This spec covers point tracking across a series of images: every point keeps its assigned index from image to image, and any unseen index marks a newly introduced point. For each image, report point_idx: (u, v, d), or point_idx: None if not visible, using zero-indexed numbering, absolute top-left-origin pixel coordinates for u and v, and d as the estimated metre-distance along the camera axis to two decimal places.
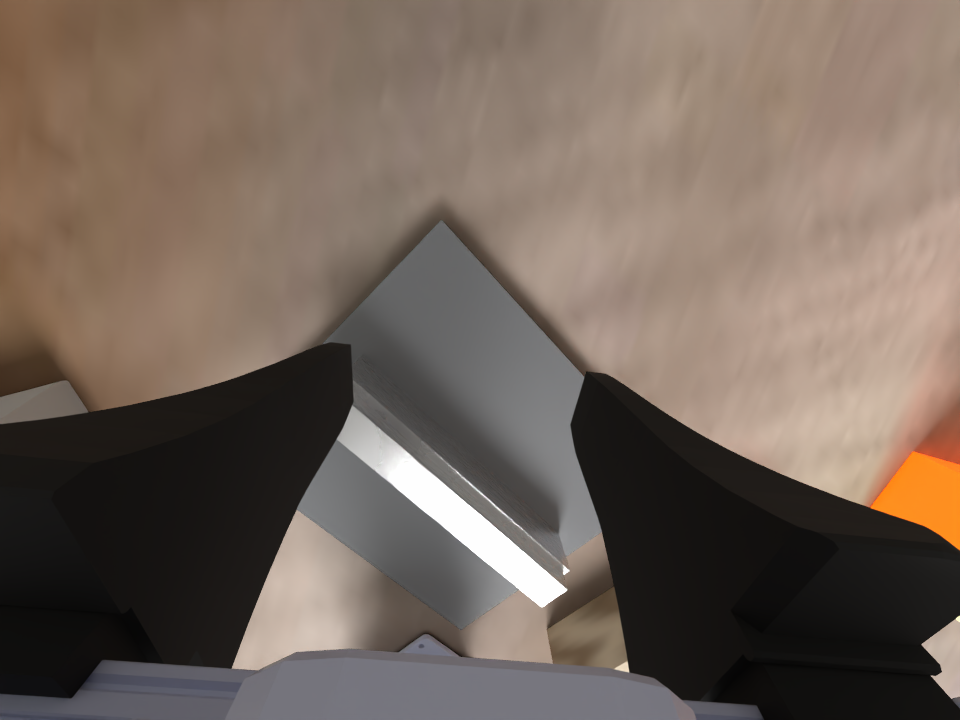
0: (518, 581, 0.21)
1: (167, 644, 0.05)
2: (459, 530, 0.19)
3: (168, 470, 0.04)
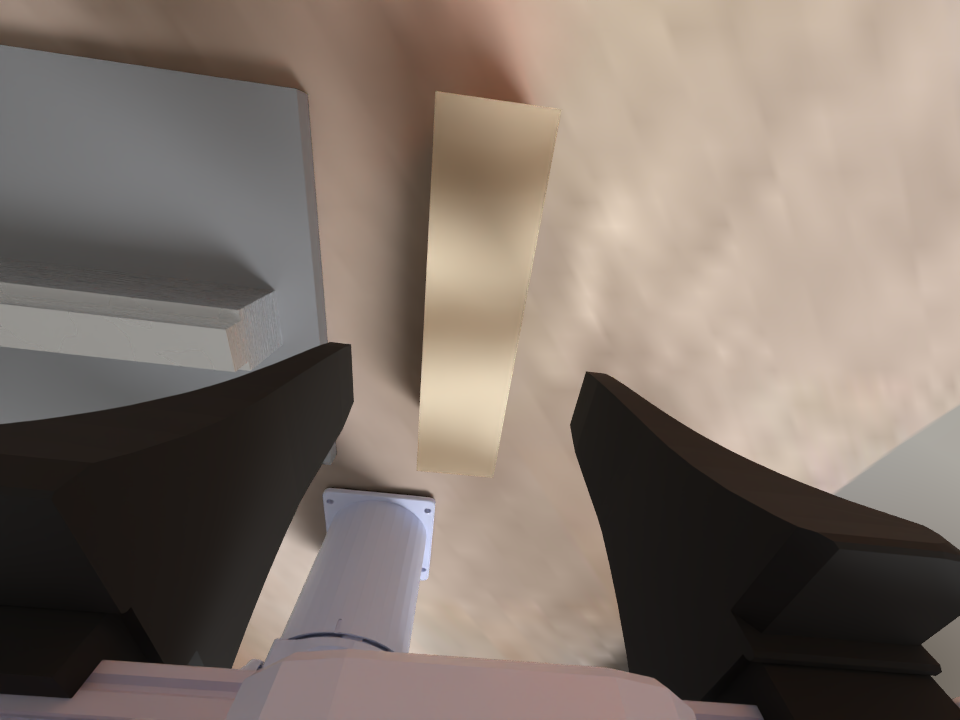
0: (172, 358, 0.15)
1: (167, 644, 0.05)
2: (46, 342, 0.15)
3: (167, 470, 0.04)
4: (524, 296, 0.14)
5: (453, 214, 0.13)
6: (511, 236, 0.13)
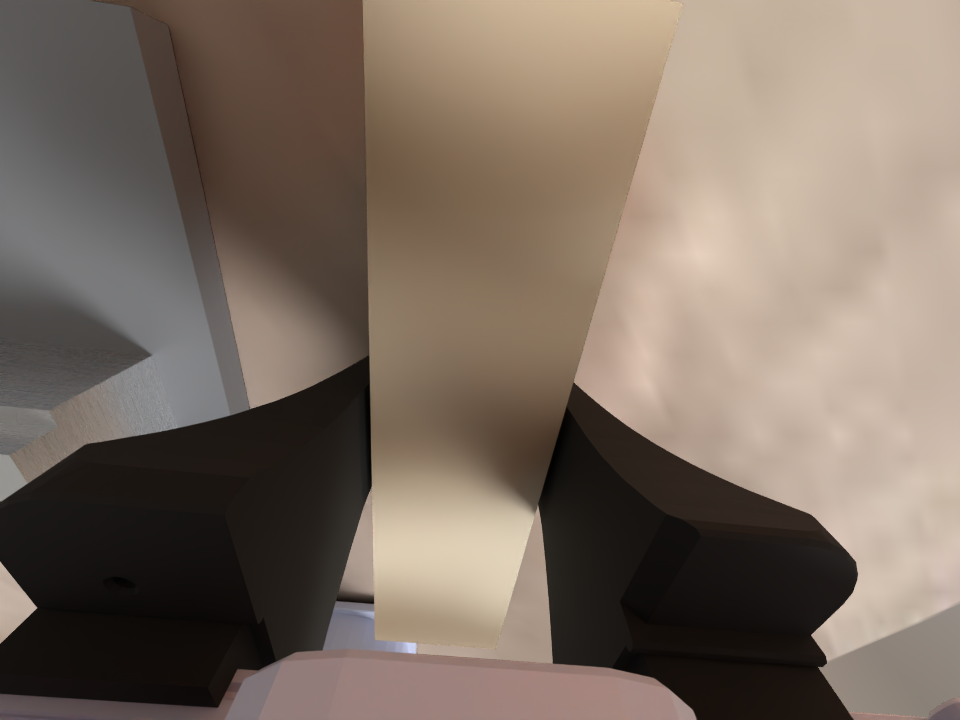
0: None
1: (281, 653, 0.05)
2: None
3: (290, 482, 0.04)
4: (562, 405, 0.07)
5: (419, 254, 0.06)
6: (543, 299, 0.06)
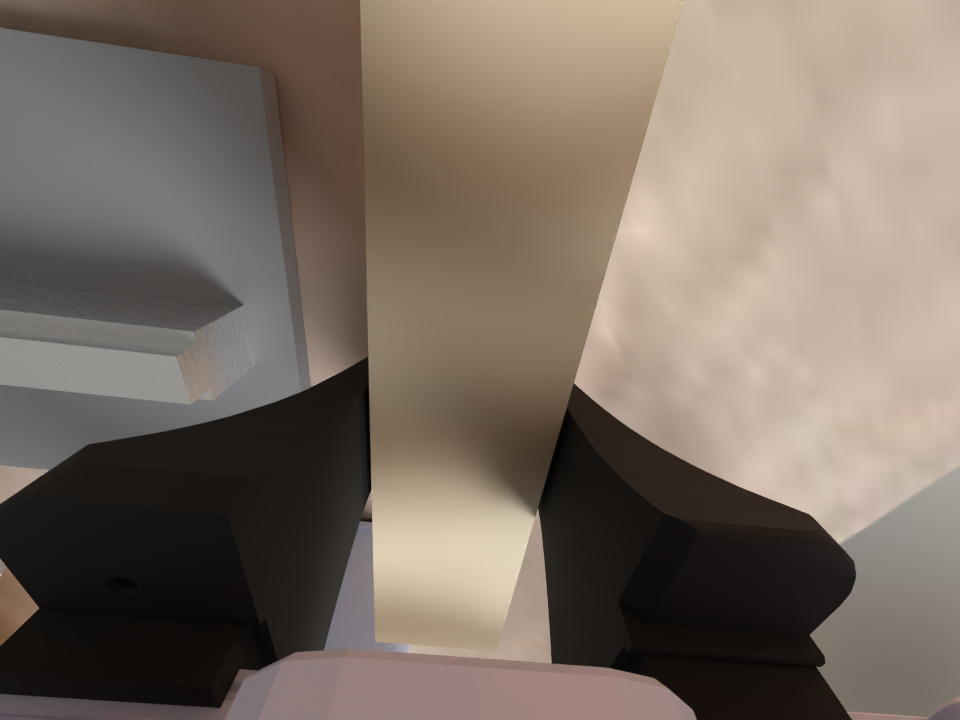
0: (116, 389, 0.13)
1: (283, 653, 0.05)
2: None
3: (292, 482, 0.04)
4: (562, 406, 0.07)
5: (418, 255, 0.06)
6: (543, 299, 0.06)
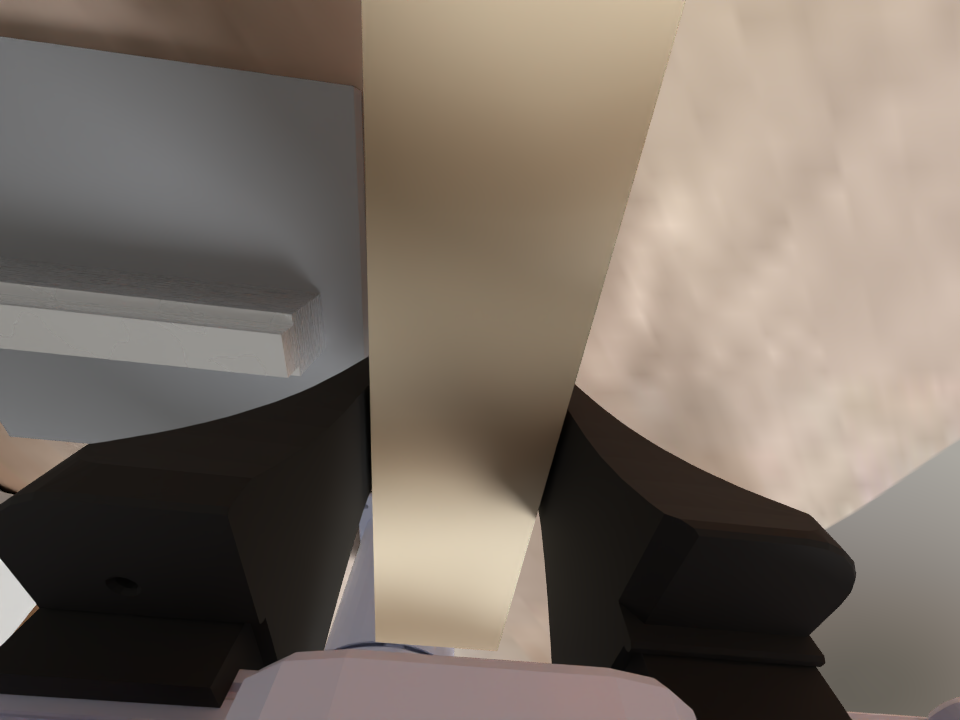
0: (224, 364, 0.15)
1: (283, 653, 0.05)
2: (97, 348, 0.14)
3: (292, 482, 0.04)
4: (563, 406, 0.07)
5: (419, 254, 0.06)
6: (543, 299, 0.06)
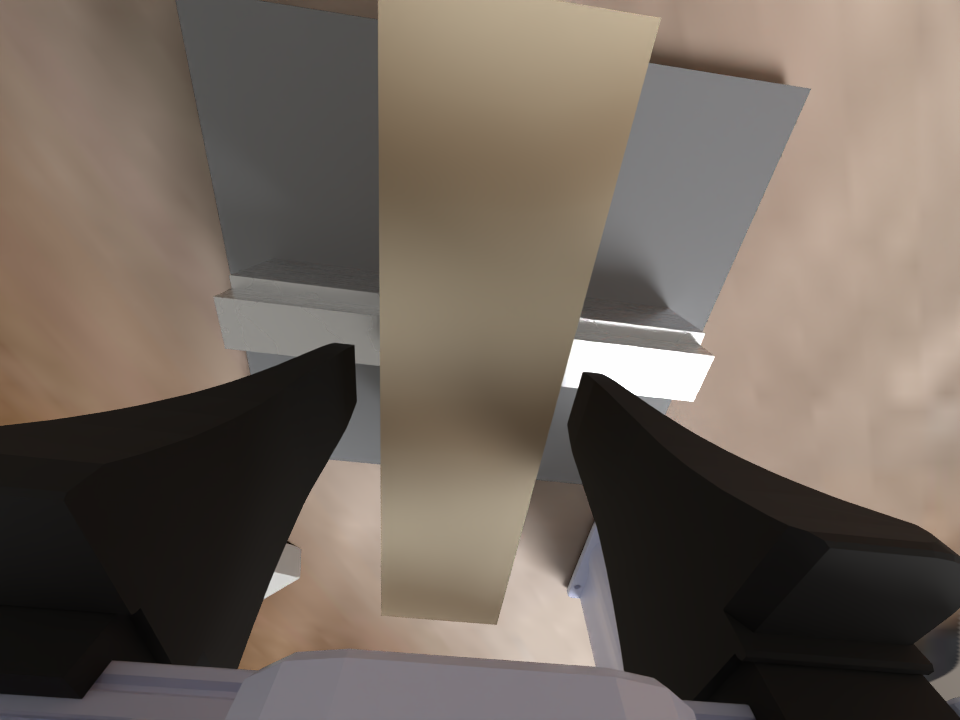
0: (633, 386, 0.14)
1: (175, 645, 0.05)
2: None
3: (176, 471, 0.04)
4: (557, 385, 0.08)
5: (426, 243, 0.06)
6: (538, 285, 0.07)
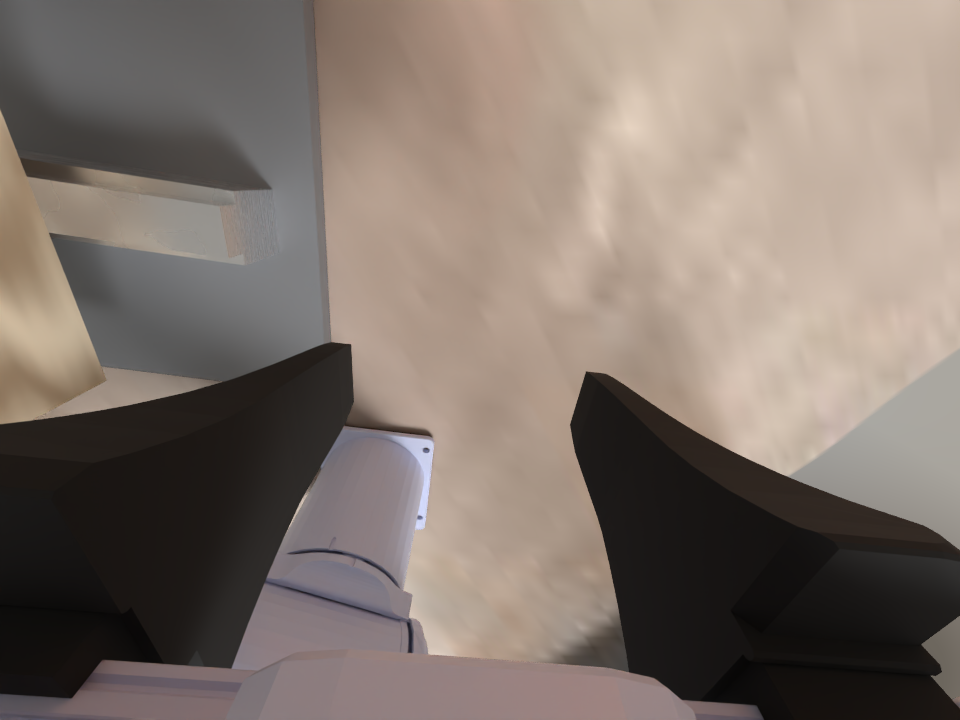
0: (162, 240, 0.14)
1: (166, 644, 0.05)
2: None
3: (168, 470, 0.04)
4: None
5: None
6: None
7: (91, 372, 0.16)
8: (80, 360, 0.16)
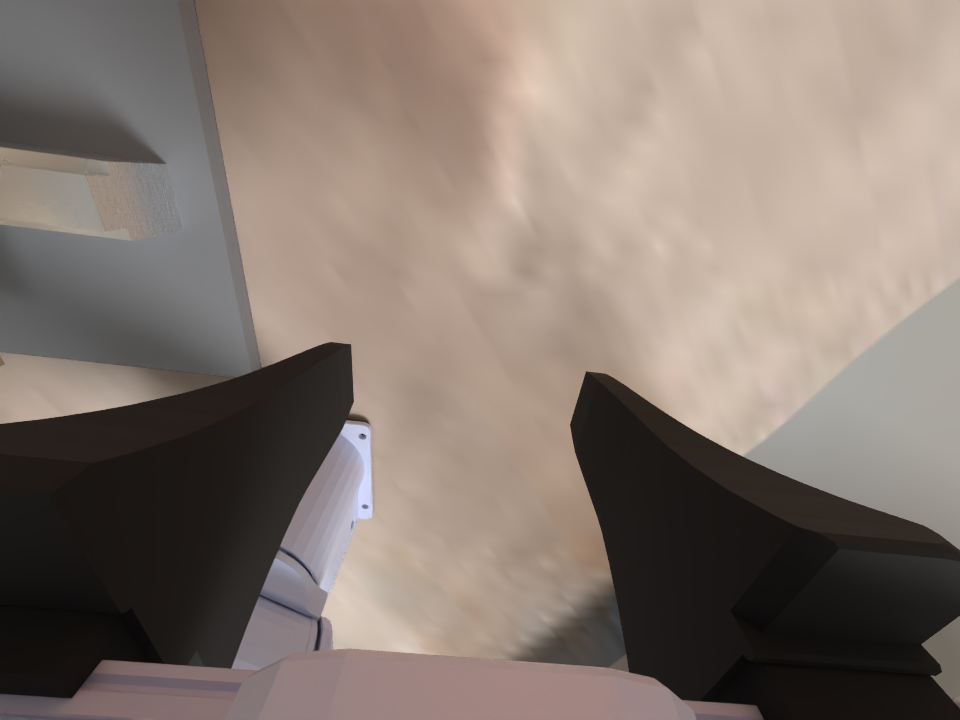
0: (33, 213, 0.14)
1: (167, 644, 0.05)
2: None
3: (168, 470, 0.04)
4: None
5: None
6: None
7: None
8: None
